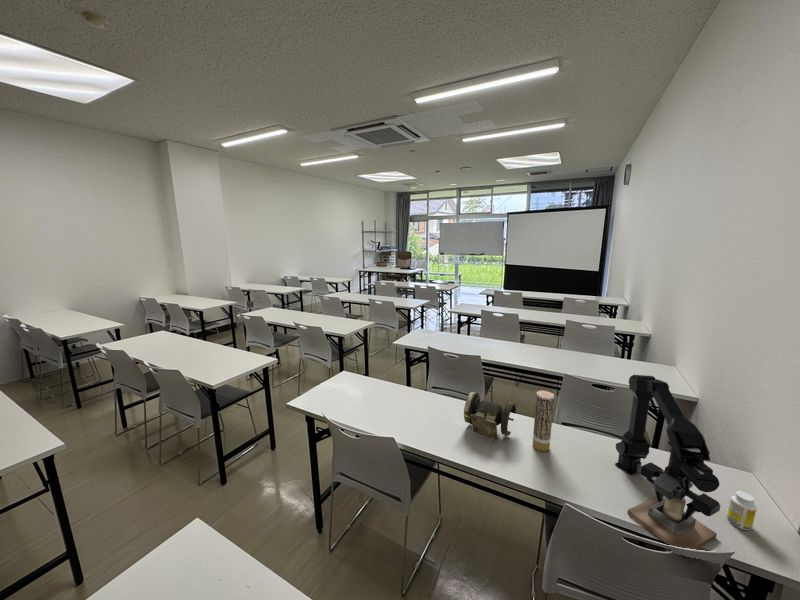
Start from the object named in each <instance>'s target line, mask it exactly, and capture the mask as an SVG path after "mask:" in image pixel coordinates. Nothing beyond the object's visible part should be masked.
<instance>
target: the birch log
mask: <svg viewBox="0 0 800 600" xmlns="http://www.w3.org/2000/svg"><path fill="white" fill-rule="evenodd" d="M554 405H555V394H554V393H553V392H550V391H549V390H538V391H537V392H536V399H535V407H534V408H535V411H534V422H533V423H534V424H533V434H532V446H533V448H534V449H536V450H538V451H539V452H547V451H549V449H550V443H551V436H552V425H553V416H554V415H553V414H554Z"/></svg>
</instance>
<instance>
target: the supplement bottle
mask: <svg viewBox="0 0 800 600" xmlns="http://www.w3.org/2000/svg"><path fill="white" fill-rule="evenodd" d="M729 501H730V502H729V506H728V511H727V514H726V515H727V516H726V518H727V521H728V522H730V524H732V526H735V527H736V528H738V529H741V530H743V531H751V530H752V528H753V526H754V523H755V516H756V512H757V505H756V504H755V498H754V497H753V496H752V495H750V494H749V493H747V492H745V491H740V490H739V491H738V490H737V491H736V492H735V495H732V496H731V497H730V500H729Z"/></svg>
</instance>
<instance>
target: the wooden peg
mask: <svg viewBox="0 0 800 600" xmlns="http://www.w3.org/2000/svg"><path fill="white" fill-rule="evenodd" d="M664 499H665V504H664V508H663V512H662V514H664V515H665V516H667V517H668V518H670V519H671V520H672V521H674V522H675V523H677V524H678V523H680V522H681V519H682V515H683V511H684V510H685V506H686V504H687V503H686V502H687V501H686V498H685V497H684V498H683V499H682V500H679V499H677V498H676V499H674V498H673V499H668V498H666V497H665V498H664ZM684 512H685V511H684Z"/></svg>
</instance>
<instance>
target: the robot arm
mask: <svg viewBox="0 0 800 600" xmlns="http://www.w3.org/2000/svg"><path fill="white" fill-rule="evenodd" d="M628 386H629V388H628V389H629V391H630V392H631V394H632V395H633V396H632V397H633V398H632V404H631V411H630V412H631V413H630V419H629V425H628V426H629V427H628V430H627V431H626V432H625V433H624V434H623V435H622V437H621V441H619V442H616V443H615V450H616V452H618V460H617V462H615V464H614V465H615V466H617V467H618V468H619V469H621V470H622V471H624V472H625V473H627V474H629V475H630V476H632V475H633V476H634V475H636V474H638V473H639V474H640V475H641V476H643V477H644V478H646V480H647V482H650V484H651V485H652V487H653V488H654V491H655V496H657V499H658V502H661V501H662V499H663V498H665V499H666V498H668V499H673V498H674V499H676V498H677V499H679V500H682V499H683V498H685V497H688V498H689V499H691V501H690V502H688V503H685V506H687V507H686V510H685V512H686V513H685V520H688V519H689V518H690V517H691V516H692V517H693V515H694V514H695V513H696V512H697V513H701V514H703V515H704V516H705V517H711V516H713V515H715V514H716V513H718V512H720V510H721V504H720V502H719V501H718V500H716V499H715V498H713V497H711V496H709V495H708V494H706V493H713V492H714V491H717V490H718V488H719V487H720V484H721V483H720V481H719V478H718V477H717V475H715V474H714V469H712V468H711V467H710V466H709V465H707V464H706V463H705V461H707V462H710V461H711V458H710V455H711V453H710V451H709V447H708V446H707V444H706V440H705V437H704V436H703V433H702V432H701V431H700V430H699V428H698V427H697V426H696V424H694V423H693V422H691V421H690V420H688V419H687V418H686V417H685V415H684V413H683V411H682V410H681V408H680V405H678V402H677V401H676V400H675V398H674V396H673V394H672V392H671V391H670V386H669V383H668V382H666V381H664V380H662V379H658V378H656V377H655V376H653V375H647V374H632V375H630V377H629V378H628ZM653 398H654V401H655V402H656V404H657V406H658V408H659V410H660V411H661V414H662V416H663V417H664V419H665V421H666V424H667V426H666V430H665V431H666V434H667V437H668V440H669V441H667V445H668V446H670V447H671V448H670V452H669V459H668V464H667V466H665V467H664V468H665V469H663V468H662V467H660V466H658V465H657V464H654V463H653V462H648V463H645V464H643V463H642V459H643V460H645V459H647V457H648V455H649V454H650V447H651V445H650V443H649V442H648V440H647V438H646V437H645V433H646V427H647V421H648V413H649V407H650V402H651V400H652V399H653ZM692 450H695V451H692ZM696 450H699V451H696ZM642 464H643V465H642ZM693 486H694V487H695V488H696V489H698V490H699V491H700V492H703V493H701V494H698V493H696V492H694V491H692V490H691V488H693Z"/></svg>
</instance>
